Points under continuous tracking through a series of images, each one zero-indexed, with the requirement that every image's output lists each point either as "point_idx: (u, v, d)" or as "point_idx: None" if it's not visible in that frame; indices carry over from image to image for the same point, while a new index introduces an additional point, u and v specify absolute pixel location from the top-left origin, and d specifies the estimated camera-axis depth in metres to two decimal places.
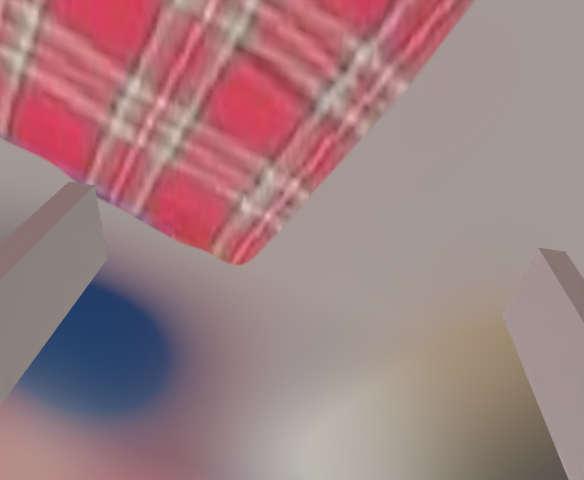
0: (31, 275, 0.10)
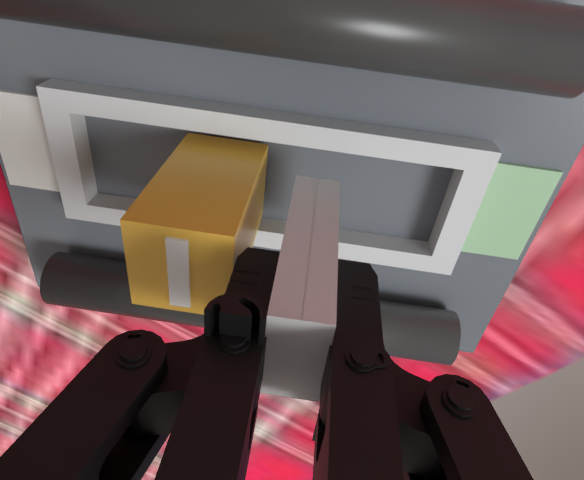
0: None
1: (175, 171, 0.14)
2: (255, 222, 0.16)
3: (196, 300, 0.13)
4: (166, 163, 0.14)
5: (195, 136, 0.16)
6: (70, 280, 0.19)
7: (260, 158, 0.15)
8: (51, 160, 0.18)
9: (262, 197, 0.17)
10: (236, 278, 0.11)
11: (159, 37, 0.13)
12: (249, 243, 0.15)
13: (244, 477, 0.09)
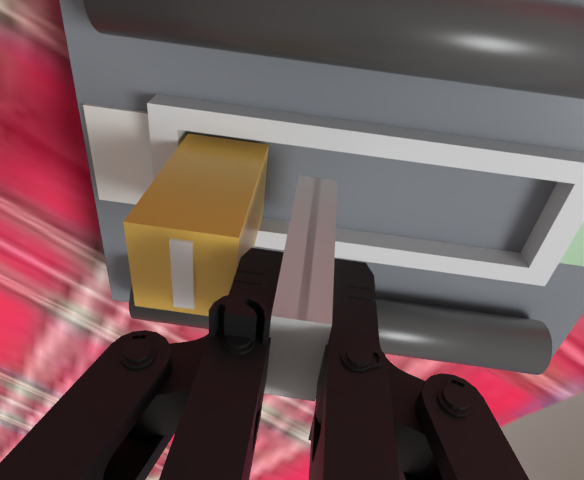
0: None
1: (176, 173, 0.14)
2: (256, 222, 0.16)
3: (200, 301, 0.13)
4: (167, 164, 0.14)
5: (195, 136, 0.16)
6: None
7: (261, 158, 0.15)
8: (146, 175, 0.17)
9: (263, 197, 0.17)
10: (240, 278, 0.11)
11: (292, 56, 0.13)
12: (251, 244, 0.15)
13: (248, 478, 0.09)
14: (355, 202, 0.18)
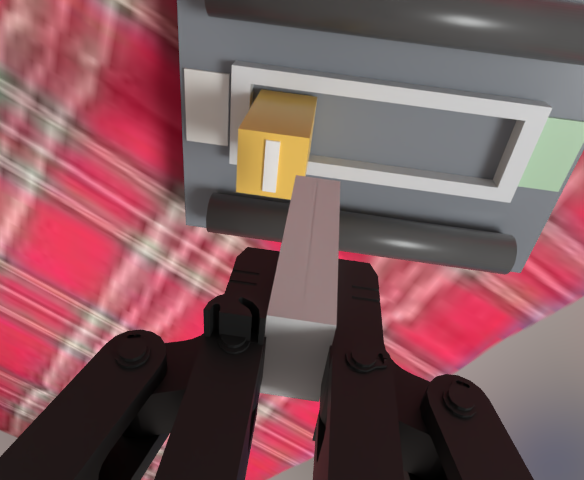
0: None
1: (261, 108, 0.21)
2: (309, 149, 0.23)
3: (279, 187, 0.20)
4: (254, 104, 0.21)
5: (266, 91, 0.23)
6: (229, 211, 0.26)
7: (314, 103, 0.22)
8: (222, 121, 0.24)
9: None
10: (236, 278, 0.11)
11: (333, 29, 0.20)
12: None
13: (244, 477, 0.09)
14: (371, 140, 0.24)
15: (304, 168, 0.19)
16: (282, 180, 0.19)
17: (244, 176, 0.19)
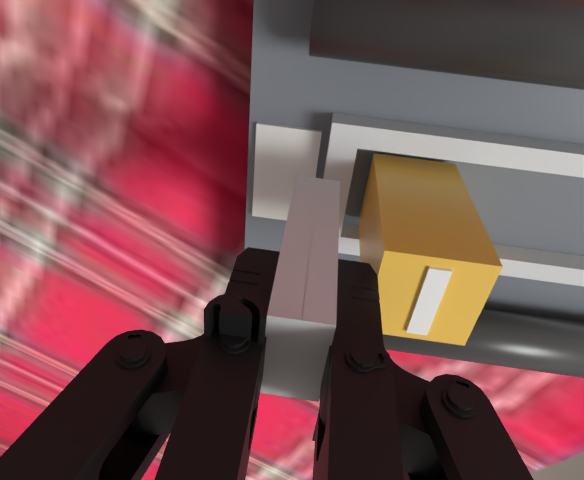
0: None
1: (394, 196, 0.14)
2: None
3: (434, 328, 0.13)
4: (379, 187, 0.14)
5: (382, 156, 0.16)
6: None
7: (459, 179, 0.15)
8: None
9: None
10: (236, 278, 0.11)
11: (508, 76, 0.13)
12: None
13: (244, 477, 0.09)
14: (516, 218, 0.17)
15: (481, 305, 0.12)
16: (441, 319, 0.12)
17: None
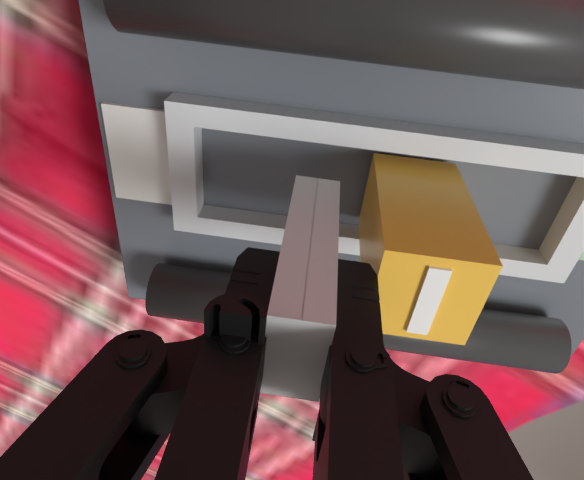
0: None
1: (394, 196, 0.14)
2: None
3: (434, 327, 0.13)
4: (379, 187, 0.14)
5: (382, 156, 0.16)
6: (176, 292, 0.19)
7: (459, 179, 0.15)
8: (162, 173, 0.18)
9: None
10: (236, 278, 0.11)
11: (308, 51, 0.13)
12: None
13: (244, 477, 0.09)
14: None
15: (482, 305, 0.12)
16: (441, 319, 0.12)
17: None
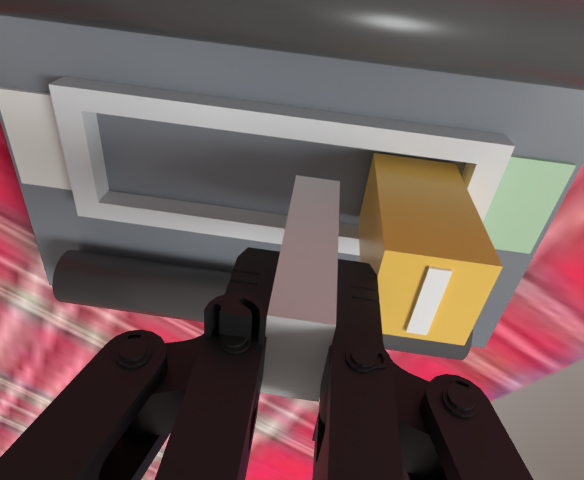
0: None
1: (394, 195, 0.14)
2: None
3: (434, 327, 0.13)
4: (379, 187, 0.14)
5: (382, 156, 0.16)
6: (82, 278, 0.19)
7: (460, 179, 0.15)
8: (63, 158, 0.18)
9: None
10: (236, 278, 0.11)
11: (172, 33, 0.13)
12: None
13: (244, 477, 0.09)
14: (269, 184, 0.18)
15: (481, 305, 0.12)
16: (441, 319, 0.12)
17: None
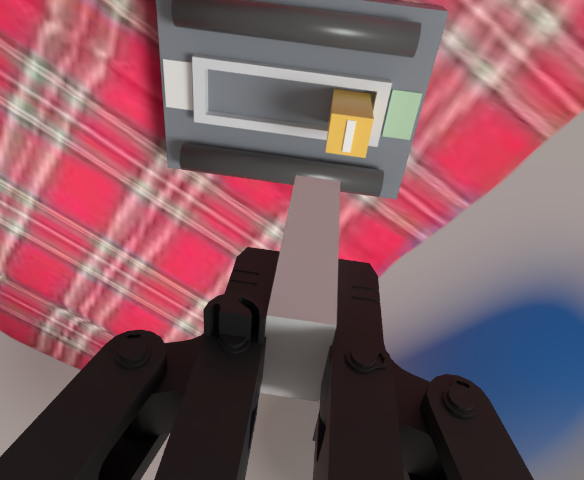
0: None
1: (339, 101, 0.33)
2: None
3: (353, 149, 0.32)
4: (333, 98, 0.34)
5: (337, 89, 0.36)
6: (194, 154, 0.39)
7: (369, 98, 0.35)
8: (189, 93, 0.37)
9: None
10: (236, 278, 0.11)
11: (250, 35, 0.33)
12: None
13: (244, 477, 0.09)
14: (286, 106, 0.37)
15: (369, 137, 0.32)
16: (355, 144, 0.32)
17: (331, 142, 0.32)
